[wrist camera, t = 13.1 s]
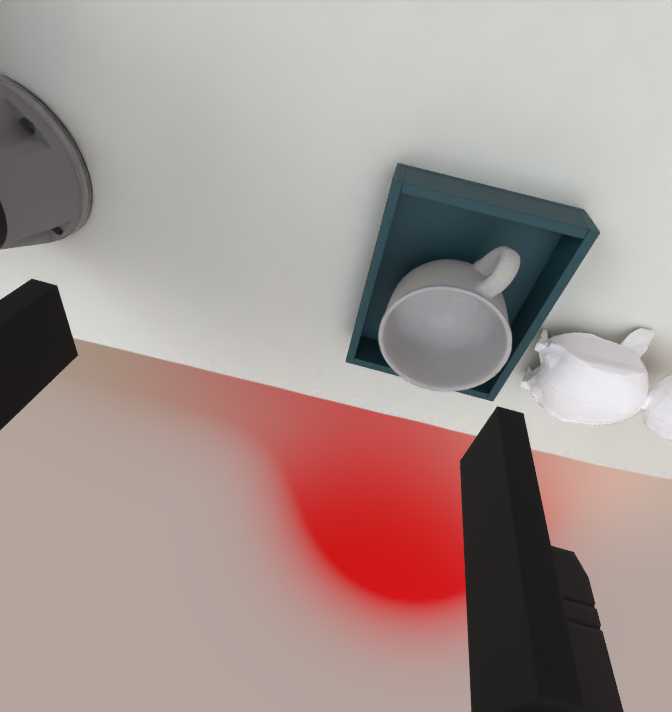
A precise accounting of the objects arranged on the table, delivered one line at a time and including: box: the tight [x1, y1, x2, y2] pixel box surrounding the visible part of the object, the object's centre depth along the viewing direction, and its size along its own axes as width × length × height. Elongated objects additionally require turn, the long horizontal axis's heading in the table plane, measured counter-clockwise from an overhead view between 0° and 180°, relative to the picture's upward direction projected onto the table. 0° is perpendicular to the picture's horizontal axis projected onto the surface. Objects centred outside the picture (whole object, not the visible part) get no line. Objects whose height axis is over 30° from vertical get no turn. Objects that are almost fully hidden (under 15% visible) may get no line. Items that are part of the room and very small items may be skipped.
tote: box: [346, 163, 600, 401], centre depth 38 cm, size 16×19×5 cm
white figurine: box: [521, 328, 672, 441], centre depth 39 cm, size 9×8×15 cm
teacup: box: [378, 246, 520, 392], centre depth 37 cm, size 14×11×8 cm
